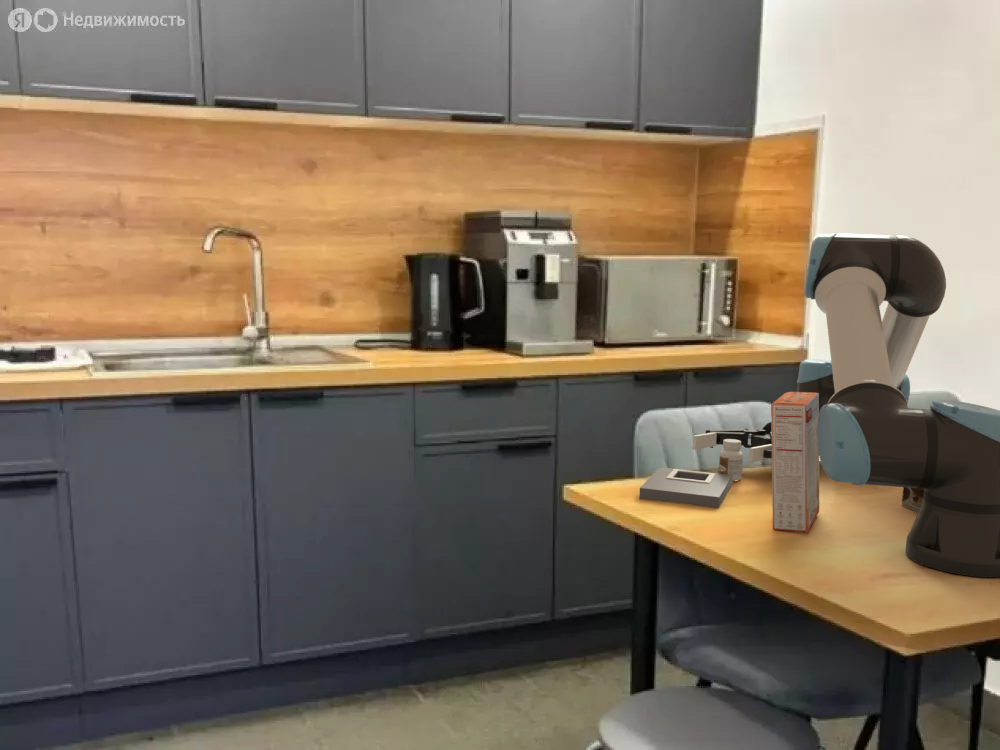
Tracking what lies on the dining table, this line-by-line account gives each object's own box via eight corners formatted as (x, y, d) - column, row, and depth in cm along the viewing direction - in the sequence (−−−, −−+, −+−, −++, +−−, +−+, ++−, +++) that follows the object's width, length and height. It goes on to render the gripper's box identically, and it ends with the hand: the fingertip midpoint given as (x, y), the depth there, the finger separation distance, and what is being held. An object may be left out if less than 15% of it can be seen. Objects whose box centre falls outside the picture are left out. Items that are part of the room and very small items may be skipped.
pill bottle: (715, 476, 188) (717, 438, 186) (736, 476, 188) (738, 438, 187) (722, 481, 183) (725, 442, 182) (744, 481, 184) (747, 442, 183)
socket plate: (718, 508, 164) (719, 495, 164) (639, 498, 169) (639, 486, 168) (731, 485, 181) (732, 474, 180) (659, 477, 185) (659, 466, 185)
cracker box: (784, 509, 164) (784, 390, 162) (820, 512, 161) (821, 391, 159) (769, 530, 152) (769, 401, 149) (808, 534, 149) (809, 402, 147)
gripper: (838, 466, 187) (775, 480, 174) (735, 444, 206) (671, 455, 193) (841, 429, 186) (778, 440, 173) (737, 410, 205) (673, 419, 192)
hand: (721, 448), depth 183 cm, fingers open, 13 cm apart
